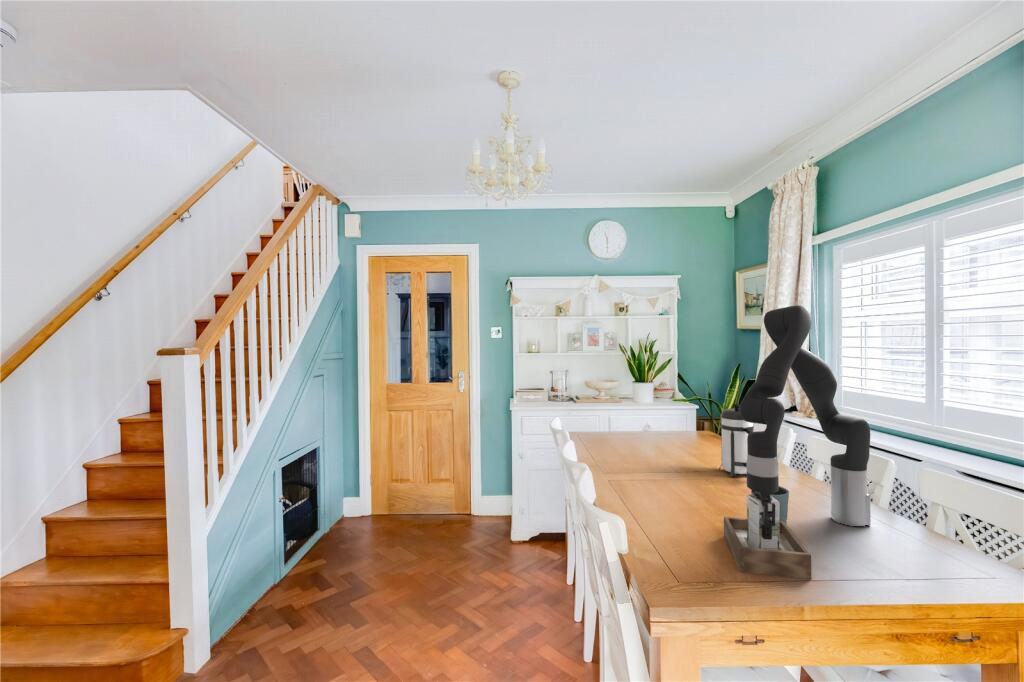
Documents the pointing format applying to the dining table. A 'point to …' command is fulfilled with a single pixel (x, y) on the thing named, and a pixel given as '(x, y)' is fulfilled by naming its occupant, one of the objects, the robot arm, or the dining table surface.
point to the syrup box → (756, 526)
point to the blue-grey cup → (782, 502)
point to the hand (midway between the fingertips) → (762, 532)
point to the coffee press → (734, 441)
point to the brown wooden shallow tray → (767, 552)
